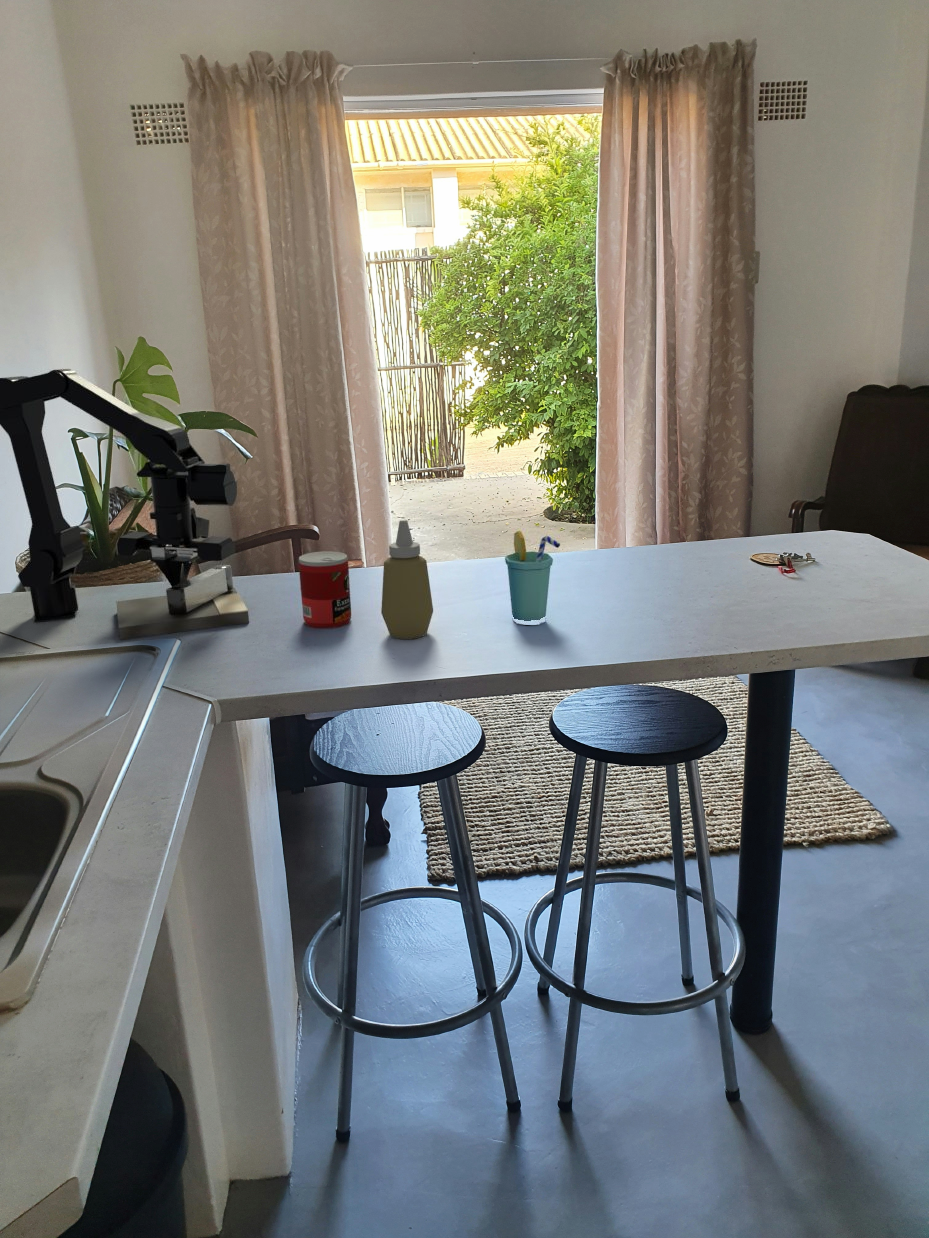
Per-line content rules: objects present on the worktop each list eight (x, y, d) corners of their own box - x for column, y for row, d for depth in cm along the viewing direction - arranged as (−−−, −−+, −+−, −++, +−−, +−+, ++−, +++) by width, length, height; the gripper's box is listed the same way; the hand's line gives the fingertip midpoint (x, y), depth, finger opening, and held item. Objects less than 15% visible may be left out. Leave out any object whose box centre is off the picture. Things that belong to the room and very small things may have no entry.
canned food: (343, 629, 142) (338, 563, 139) (296, 627, 144) (290, 561, 141) (358, 615, 150) (354, 551, 146) (313, 613, 151) (308, 550, 148)
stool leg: (220, 586, 160) (218, 564, 159) (236, 586, 159) (234, 565, 158) (164, 614, 144) (161, 590, 143) (181, 615, 143) (178, 591, 142)
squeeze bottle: (441, 628, 142) (437, 516, 136) (422, 644, 135) (418, 527, 129) (394, 624, 144) (389, 514, 139) (374, 640, 137) (367, 525, 132)
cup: (577, 629, 140) (579, 535, 135) (536, 638, 136) (537, 542, 132) (527, 607, 151) (527, 521, 147) (488, 615, 148) (487, 526, 143)
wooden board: (120, 639, 140) (118, 626, 139) (117, 612, 154) (116, 600, 154) (249, 622, 147) (247, 609, 146) (235, 598, 161) (234, 586, 161)
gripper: (246, 497, 151) (252, 586, 156) (145, 493, 155) (154, 579, 160) (216, 510, 141) (223, 604, 146) (109, 505, 144) (120, 597, 149)
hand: (180, 595), depth 150 cm, fingers closed
